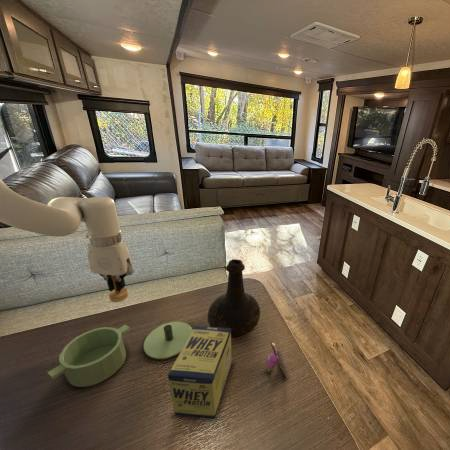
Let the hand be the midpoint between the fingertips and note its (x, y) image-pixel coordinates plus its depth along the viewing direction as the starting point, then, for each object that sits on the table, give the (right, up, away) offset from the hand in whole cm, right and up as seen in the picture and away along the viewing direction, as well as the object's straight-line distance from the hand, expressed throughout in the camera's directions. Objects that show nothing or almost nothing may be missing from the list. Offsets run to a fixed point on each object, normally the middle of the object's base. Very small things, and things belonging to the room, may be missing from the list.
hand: (117, 288), depth 80 cm
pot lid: (+16, -17, +2) cm, 24 cm away
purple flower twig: (+52, -24, -4) cm, 57 cm away
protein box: (+33, -25, -11) cm, 43 cm away
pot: (0, -20, -8) cm, 22 cm away
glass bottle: (+36, -17, +10) cm, 41 cm away
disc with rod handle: (0, -3, +1) cm, 4 cm away
